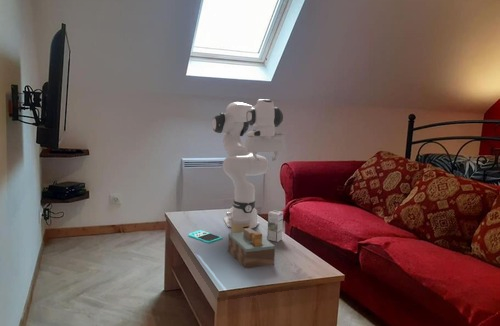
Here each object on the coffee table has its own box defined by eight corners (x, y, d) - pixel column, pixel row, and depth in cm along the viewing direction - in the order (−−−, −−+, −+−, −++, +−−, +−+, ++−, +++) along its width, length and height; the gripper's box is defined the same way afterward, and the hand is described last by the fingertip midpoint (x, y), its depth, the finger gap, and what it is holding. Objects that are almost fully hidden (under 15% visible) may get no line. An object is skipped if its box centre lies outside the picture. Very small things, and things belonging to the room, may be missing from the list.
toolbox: (228, 253, 185) (228, 236, 184) (254, 250, 190) (255, 233, 189) (245, 270, 167) (246, 252, 166) (273, 266, 172) (274, 248, 171)
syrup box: (282, 239, 206) (283, 211, 204) (276, 242, 201) (278, 214, 199) (272, 237, 209) (273, 209, 207) (266, 240, 204) (268, 212, 202)
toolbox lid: (228, 236, 184) (229, 226, 183) (255, 233, 189) (255, 223, 188) (246, 252, 166) (246, 240, 165) (274, 248, 171) (275, 237, 170)
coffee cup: (247, 246, 194) (248, 222, 193) (228, 244, 196) (228, 220, 194) (251, 240, 203) (252, 216, 202) (232, 238, 205) (233, 214, 203)
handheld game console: (200, 231, 214) (200, 229, 214) (223, 239, 204) (223, 236, 204) (186, 236, 206) (186, 233, 206) (208, 244, 196) (209, 241, 196)
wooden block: (251, 261, 174) (252, 232, 172) (257, 261, 175) (259, 231, 173) (254, 264, 171) (255, 234, 169) (260, 263, 172) (262, 234, 170)
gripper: (281, 132, 204) (281, 160, 205) (243, 132, 196) (243, 161, 197) (287, 132, 199) (287, 161, 199) (249, 132, 190) (249, 162, 191)
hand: (265, 161), depth 198 cm, fingers open, 8 cm apart
